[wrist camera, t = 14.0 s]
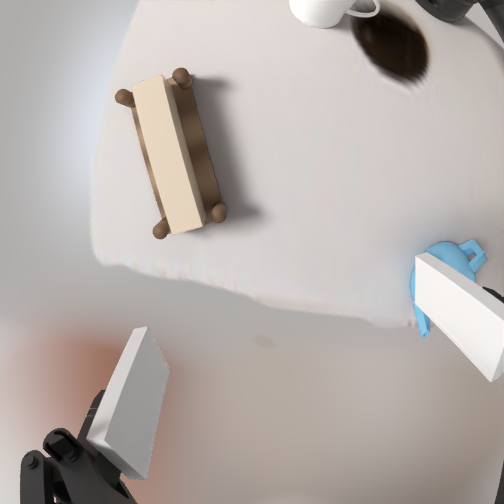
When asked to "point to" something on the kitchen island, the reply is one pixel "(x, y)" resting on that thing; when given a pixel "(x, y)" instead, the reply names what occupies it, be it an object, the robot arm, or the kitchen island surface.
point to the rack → (195, 146)
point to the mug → (326, 11)
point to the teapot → (457, 261)
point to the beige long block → (169, 154)
